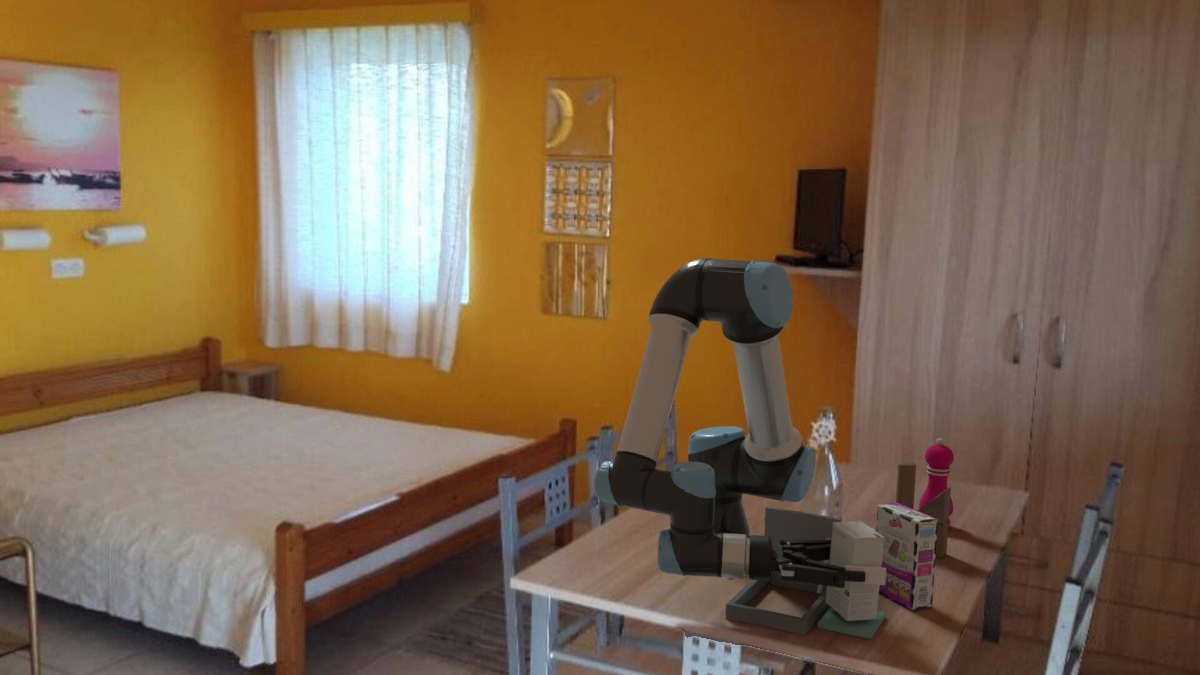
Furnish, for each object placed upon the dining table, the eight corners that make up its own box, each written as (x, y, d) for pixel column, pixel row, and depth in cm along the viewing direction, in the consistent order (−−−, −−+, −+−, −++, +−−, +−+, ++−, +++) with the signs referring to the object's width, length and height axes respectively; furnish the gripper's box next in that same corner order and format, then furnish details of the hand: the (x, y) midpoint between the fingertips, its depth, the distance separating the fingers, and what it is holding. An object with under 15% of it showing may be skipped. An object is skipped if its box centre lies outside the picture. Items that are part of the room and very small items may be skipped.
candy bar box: (934, 607, 188) (940, 518, 185) (911, 612, 186) (917, 522, 183) (892, 585, 198) (897, 501, 195) (871, 589, 196) (876, 503, 193)
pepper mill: (916, 529, 231) (921, 439, 228) (919, 519, 237) (924, 432, 234) (950, 533, 228) (956, 443, 225) (953, 523, 235) (959, 436, 232)
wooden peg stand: (940, 559, 212) (946, 472, 210) (889, 547, 219) (894, 463, 216) (947, 554, 215) (952, 468, 213) (896, 542, 222) (901, 459, 219)
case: (725, 617, 182) (728, 536, 180) (764, 580, 199) (767, 506, 197) (804, 635, 175) (808, 551, 173) (837, 595, 193) (841, 518, 191)
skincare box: (824, 603, 183) (829, 521, 181) (856, 600, 185) (860, 519, 183) (847, 623, 175) (852, 537, 173) (880, 619, 177) (885, 534, 175)
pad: (817, 627, 178) (817, 622, 178) (833, 607, 187) (834, 602, 187) (870, 639, 174) (871, 633, 174) (884, 617, 183) (885, 612, 183)
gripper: (747, 555, 193) (872, 564, 190) (746, 602, 171) (888, 612, 168) (748, 516, 192) (875, 523, 189) (748, 558, 170) (891, 567, 167)
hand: (881, 565), depth 178 cm, fingers closed on skincare box, 9 cm apart
